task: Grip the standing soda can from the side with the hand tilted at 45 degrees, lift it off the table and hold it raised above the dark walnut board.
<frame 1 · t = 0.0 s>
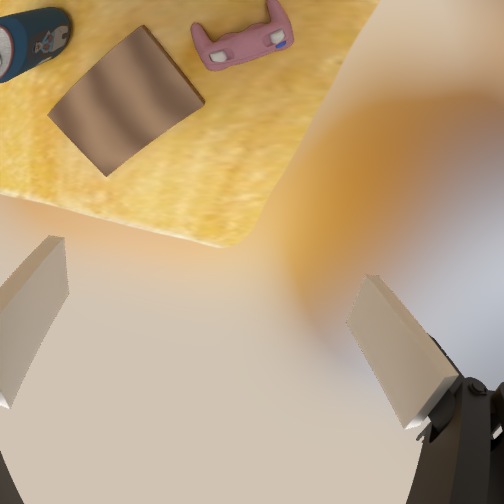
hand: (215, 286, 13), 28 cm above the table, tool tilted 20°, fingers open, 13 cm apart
soda can: (51, 32, 24), on the table
video game controller: (241, 30, 28), on the table
walnut board: (122, 103, 32), on the table
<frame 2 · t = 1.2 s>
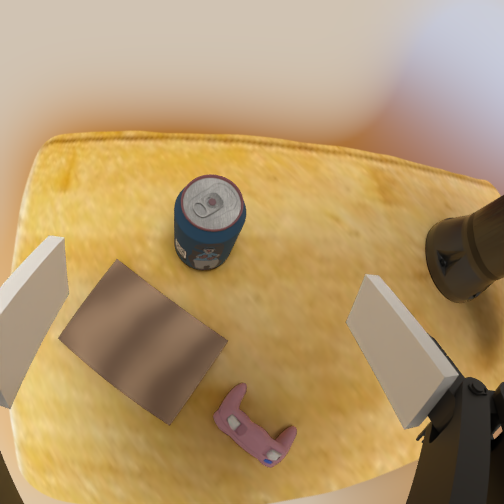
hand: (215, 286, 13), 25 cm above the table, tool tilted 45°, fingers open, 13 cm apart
soda can: (202, 246, 40), on the table
video game controller: (251, 422, 34), on the table
walnut board: (141, 342, 34), on the table
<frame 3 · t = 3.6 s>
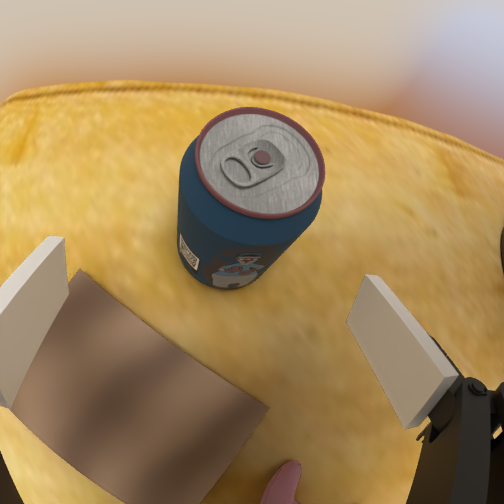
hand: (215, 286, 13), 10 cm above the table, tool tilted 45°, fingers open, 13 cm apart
soda can: (222, 248, 24), on the table
walnut board: (122, 408, 19), on the table
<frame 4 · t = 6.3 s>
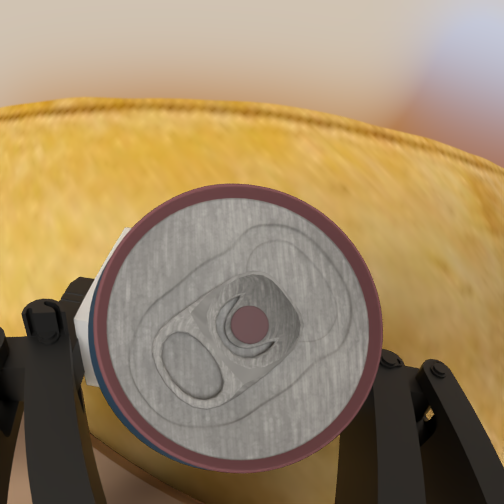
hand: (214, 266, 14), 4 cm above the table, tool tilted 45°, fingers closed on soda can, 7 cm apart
soda can: (201, 347, 17), on the table, touching gripper
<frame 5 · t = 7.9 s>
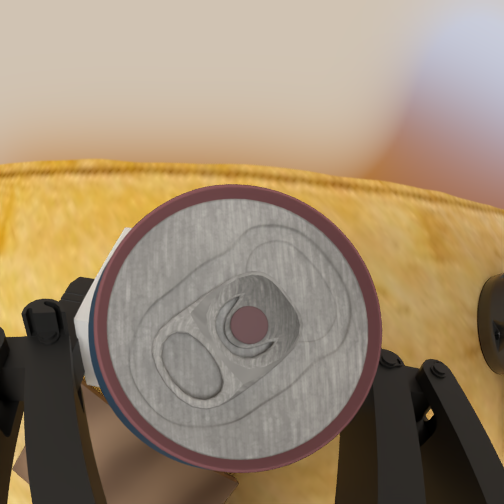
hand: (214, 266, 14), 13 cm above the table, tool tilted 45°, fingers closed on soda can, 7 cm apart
soda can: (201, 347, 17), point 9 cm above the table, touching gripper
walnut board: (119, 480, 19), on the table
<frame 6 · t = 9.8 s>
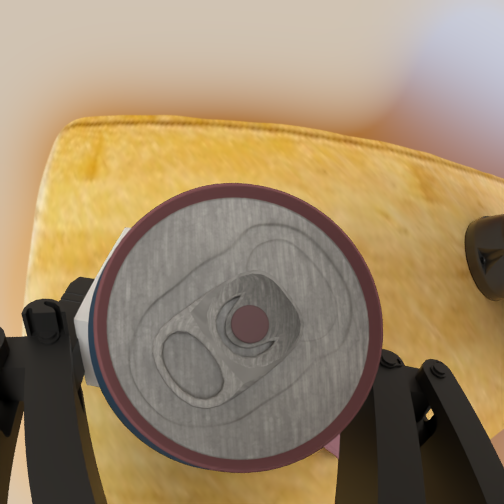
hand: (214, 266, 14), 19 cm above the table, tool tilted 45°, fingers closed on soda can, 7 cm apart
soda can: (201, 347, 17), point 15 cm above the table, touching gripper
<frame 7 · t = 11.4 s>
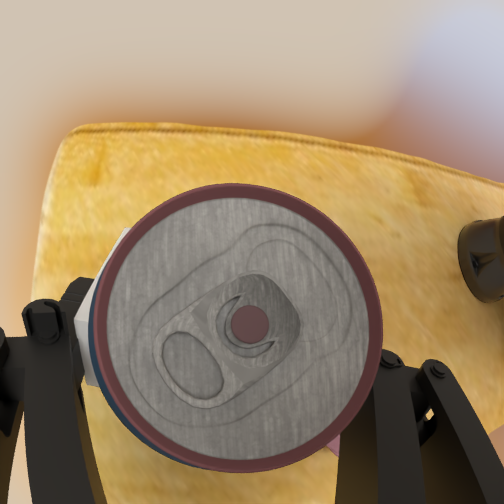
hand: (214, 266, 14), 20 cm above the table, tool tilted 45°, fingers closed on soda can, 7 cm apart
soda can: (201, 347, 17), point 16 cm above the table, touching gripper
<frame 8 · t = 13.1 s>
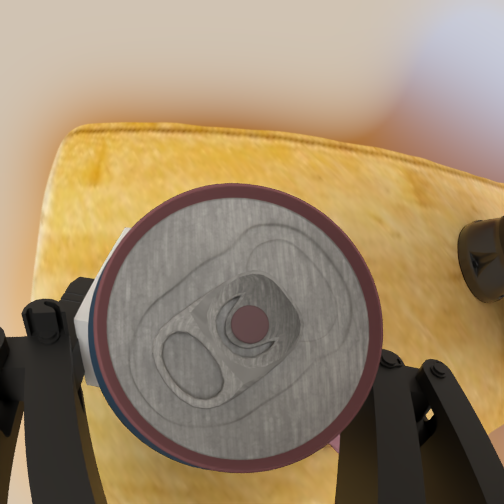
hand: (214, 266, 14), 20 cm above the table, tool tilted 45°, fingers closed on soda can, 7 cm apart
soda can: (201, 347, 17), point 16 cm above the table, touching gripper
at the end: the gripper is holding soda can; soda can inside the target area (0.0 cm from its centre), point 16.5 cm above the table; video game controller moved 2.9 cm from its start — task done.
